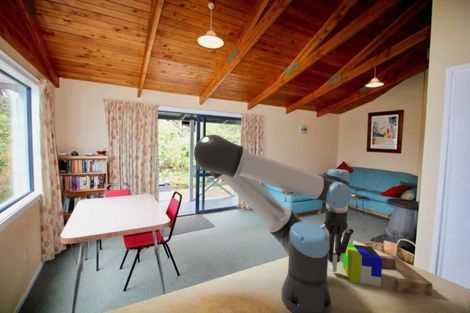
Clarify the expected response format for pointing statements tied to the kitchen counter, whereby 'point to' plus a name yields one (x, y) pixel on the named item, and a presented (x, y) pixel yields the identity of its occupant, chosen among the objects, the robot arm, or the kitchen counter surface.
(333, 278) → the kitchen counter surface
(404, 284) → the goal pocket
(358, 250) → the puzzle toy
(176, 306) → the kitchen counter surface
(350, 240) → the cream egg shape
